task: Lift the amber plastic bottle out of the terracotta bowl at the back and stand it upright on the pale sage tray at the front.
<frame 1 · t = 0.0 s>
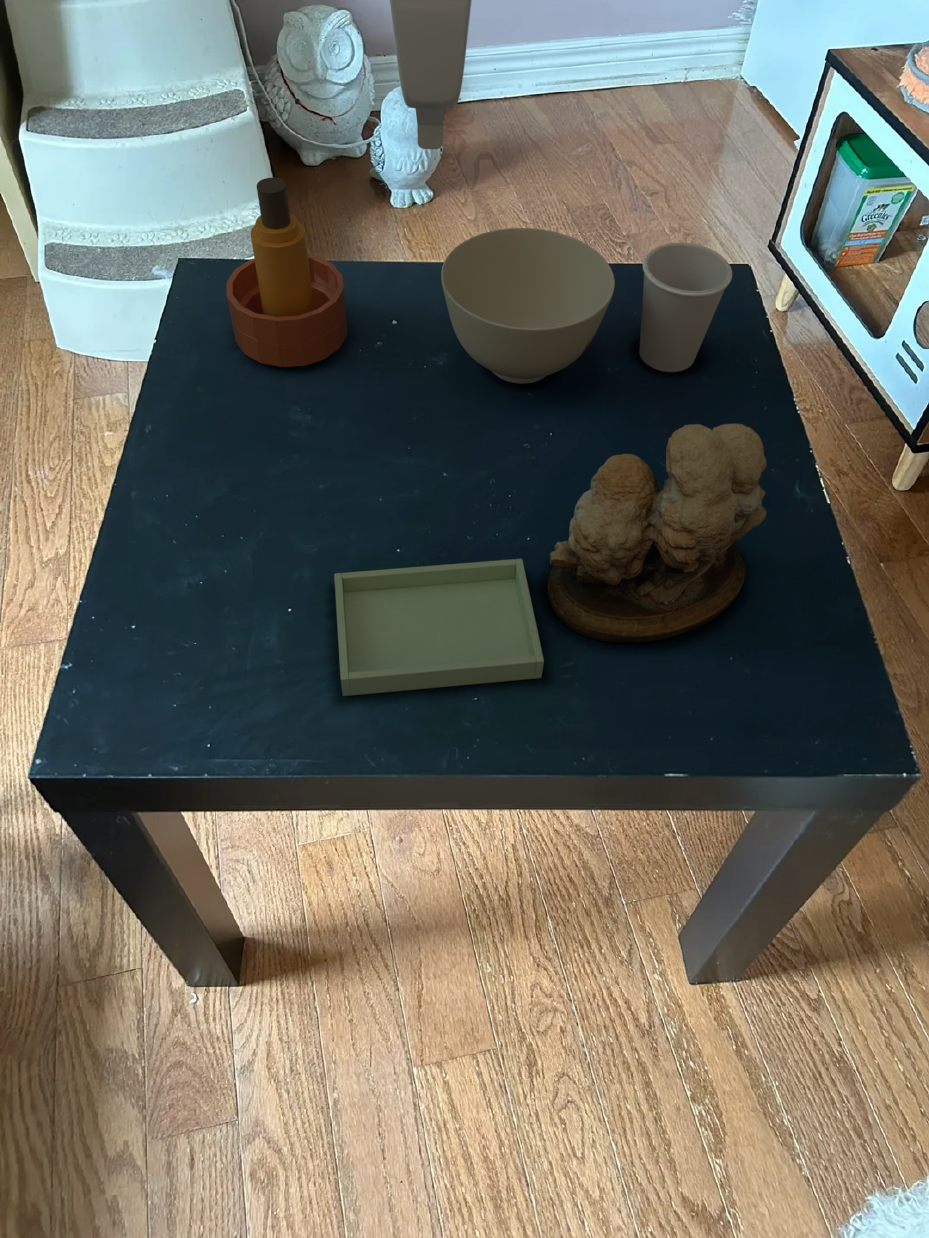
hand: (428, 113, 73), 27 cm above the table, tool pointing down, fingers open, 8 cm apart
tray: (435, 633, 76), on the table
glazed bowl: (292, 336, 98), on the table
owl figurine: (648, 583, 80), on the table
bottle: (291, 331, 98), point 1 cm above the table, touching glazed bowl
dixie cup: (666, 355, 98), on the table
bowl: (519, 365, 97), on the table
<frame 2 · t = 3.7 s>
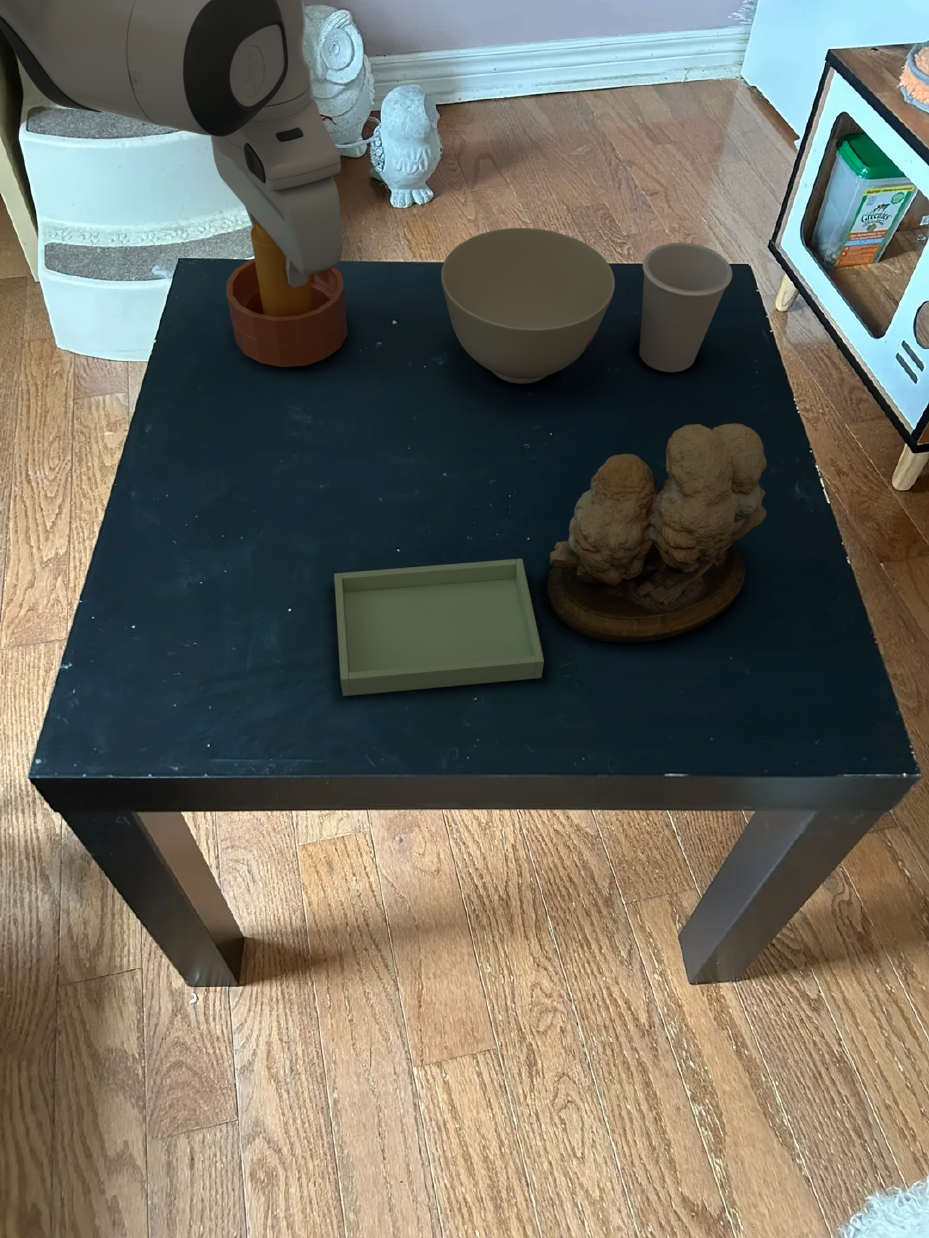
hand: (282, 265, 92), 8 cm above the table, tool pointing down, fingers closed on bottle, 5 cm apart
bottle: (291, 331, 98), point 1 cm above the table, touching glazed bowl, gripper
everything else where it was.
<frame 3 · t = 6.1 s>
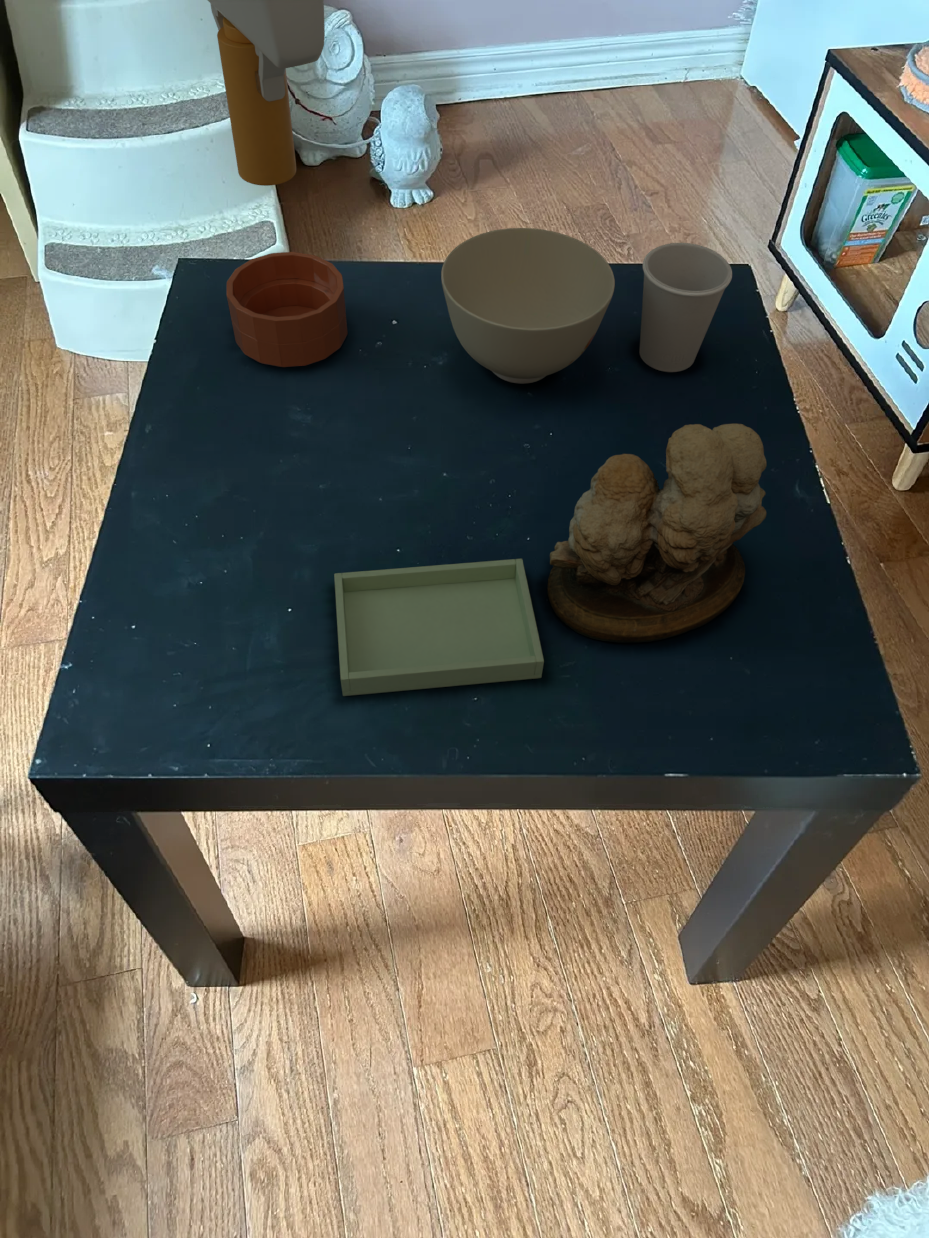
hand: (255, 80, 78), 25 cm above the table, tool pointing down, fingers closed on bottle, 5 cm apart
bottle: (267, 171, 84), point 18 cm above the table, touching gripper
everything else where it was.
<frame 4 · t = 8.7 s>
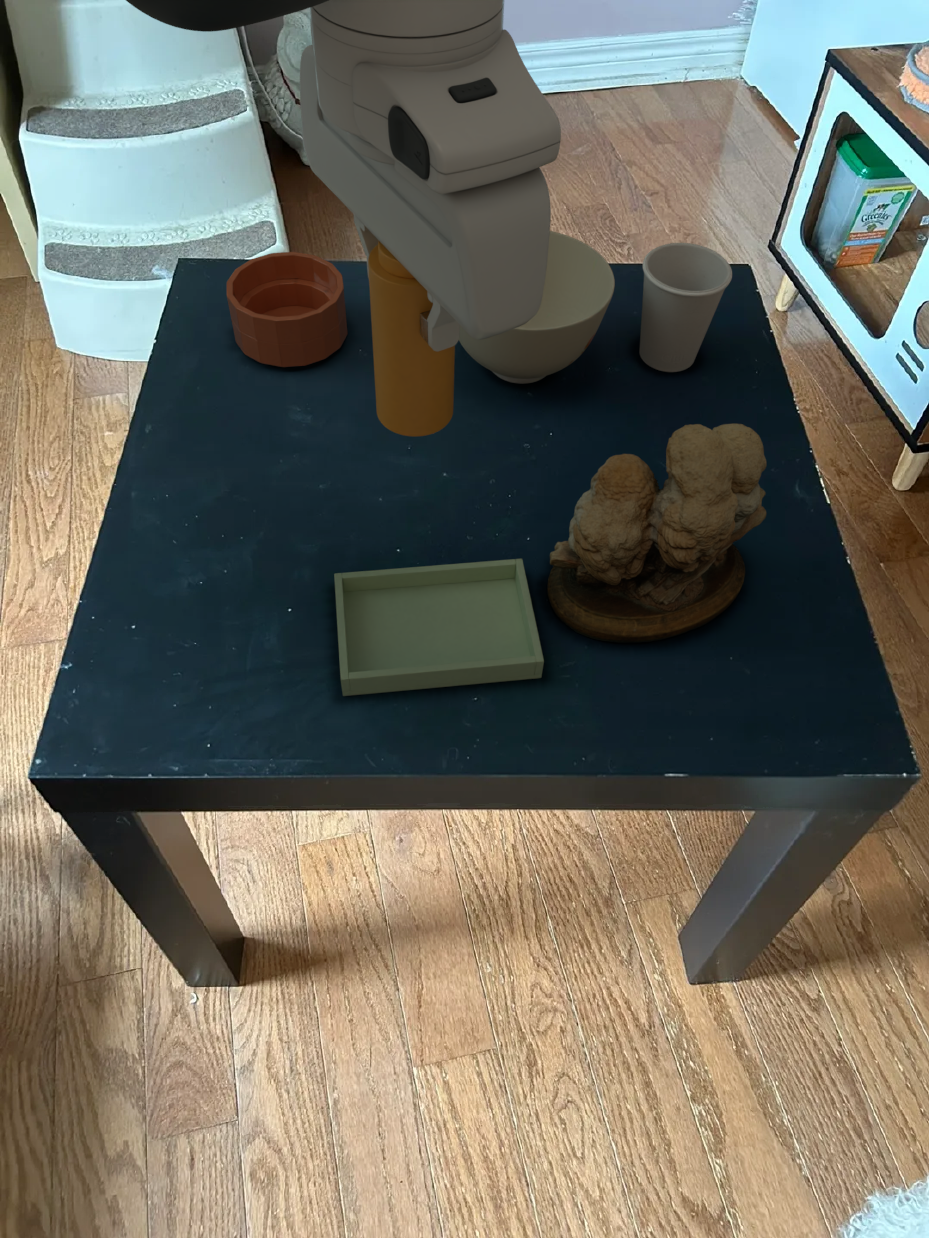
hand: (412, 313, 57), 27 cm above the table, tool pointing down, fingers closed on bottle, 5 cm apart
bottle: (415, 411, 63), point 20 cm above the table, touching gripper
everything else where it was.
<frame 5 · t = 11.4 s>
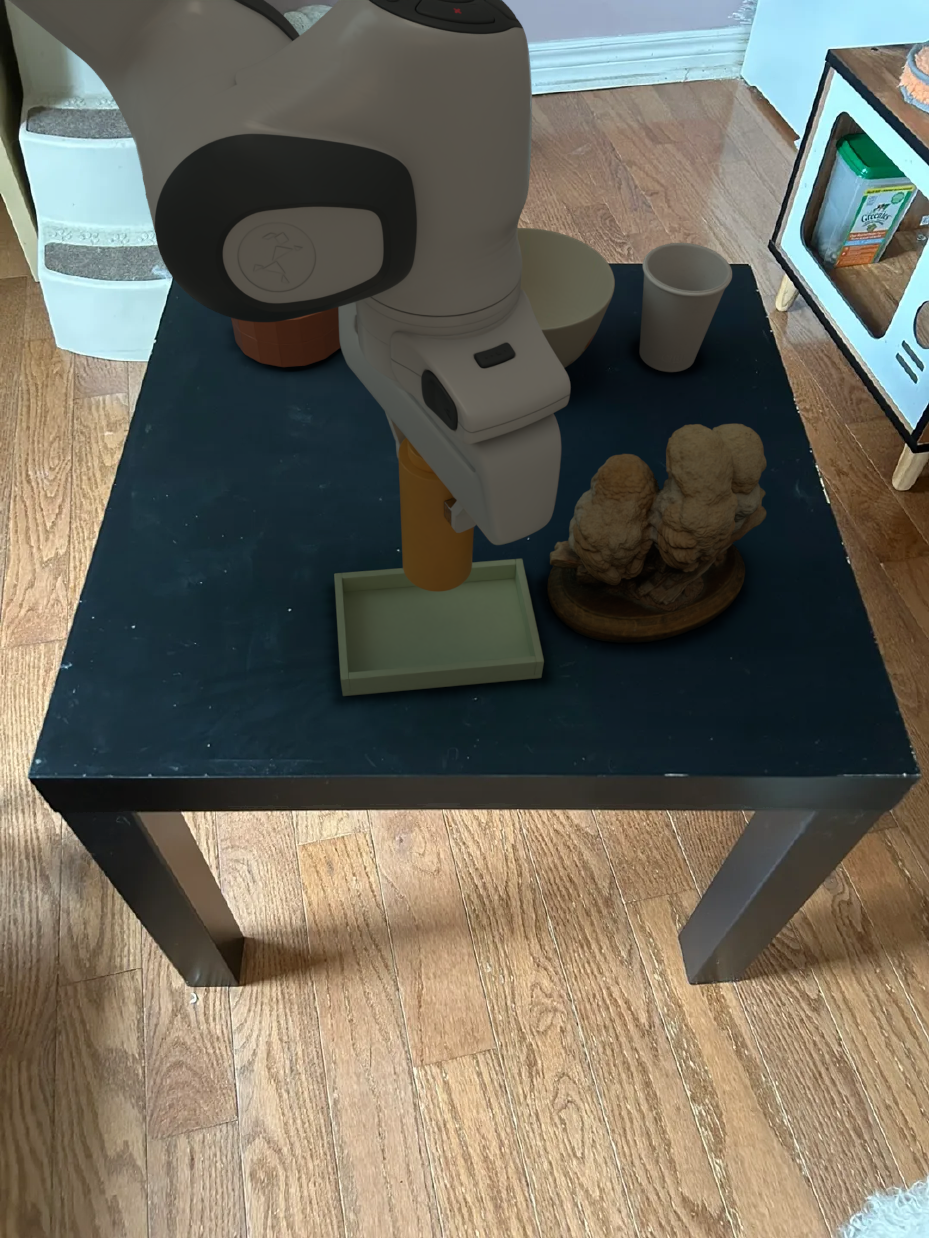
hand: (437, 492, 64), 16 cm above the table, tool pointing down, fingers closed on bottle, 5 cm apart
bottle: (437, 565, 70), point 8 cm above the table, touching gripper
everything else where it was.
when the fingers open (8 cm above the table, at t = 13.7 s): bottle stays where it is, resting on tray.
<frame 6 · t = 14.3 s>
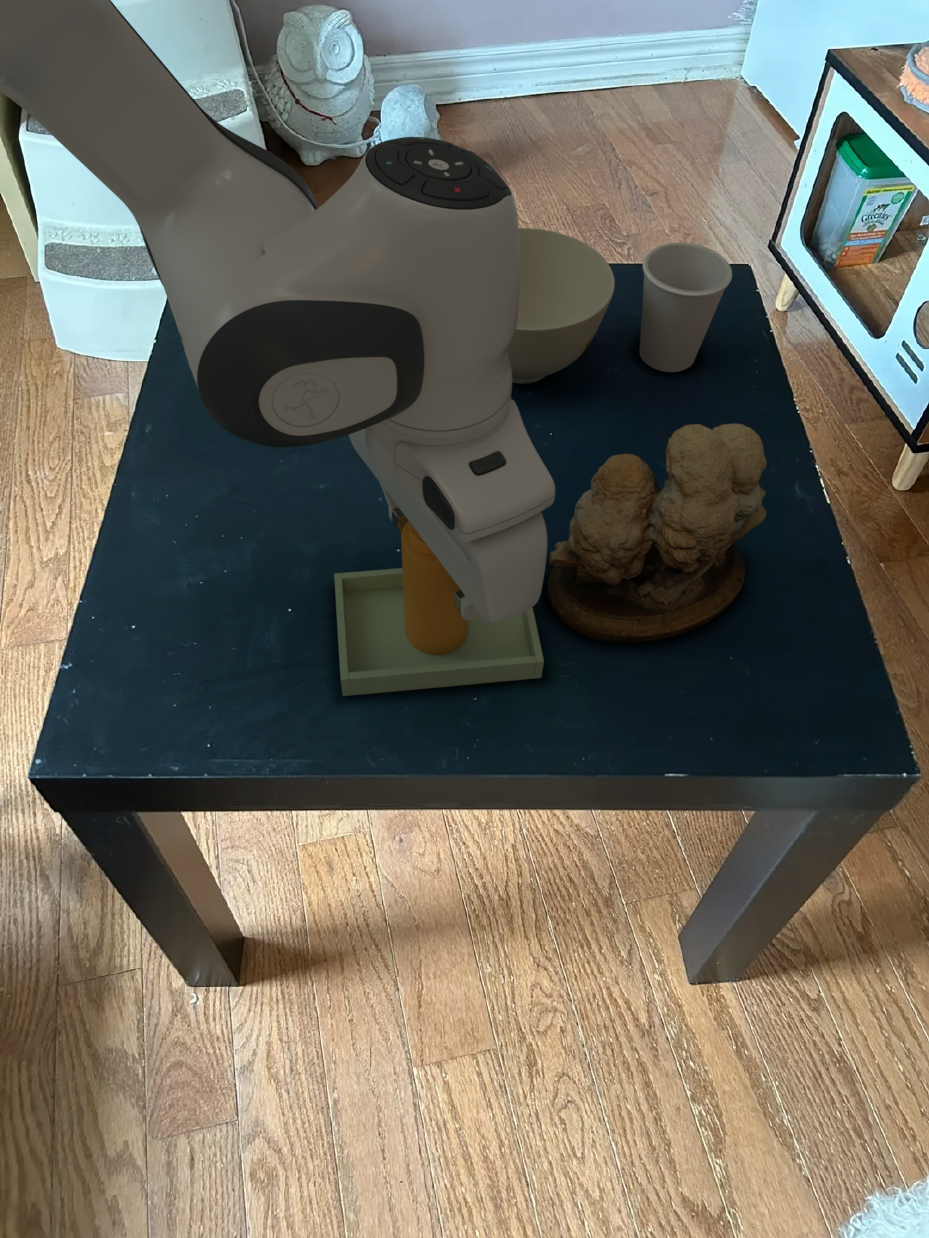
hand: (435, 565, 70), 8 cm above the table, tool pointing down, fingers open, 8 cm apart
bottle: (436, 629, 76), resting on tray
everything else where it was.
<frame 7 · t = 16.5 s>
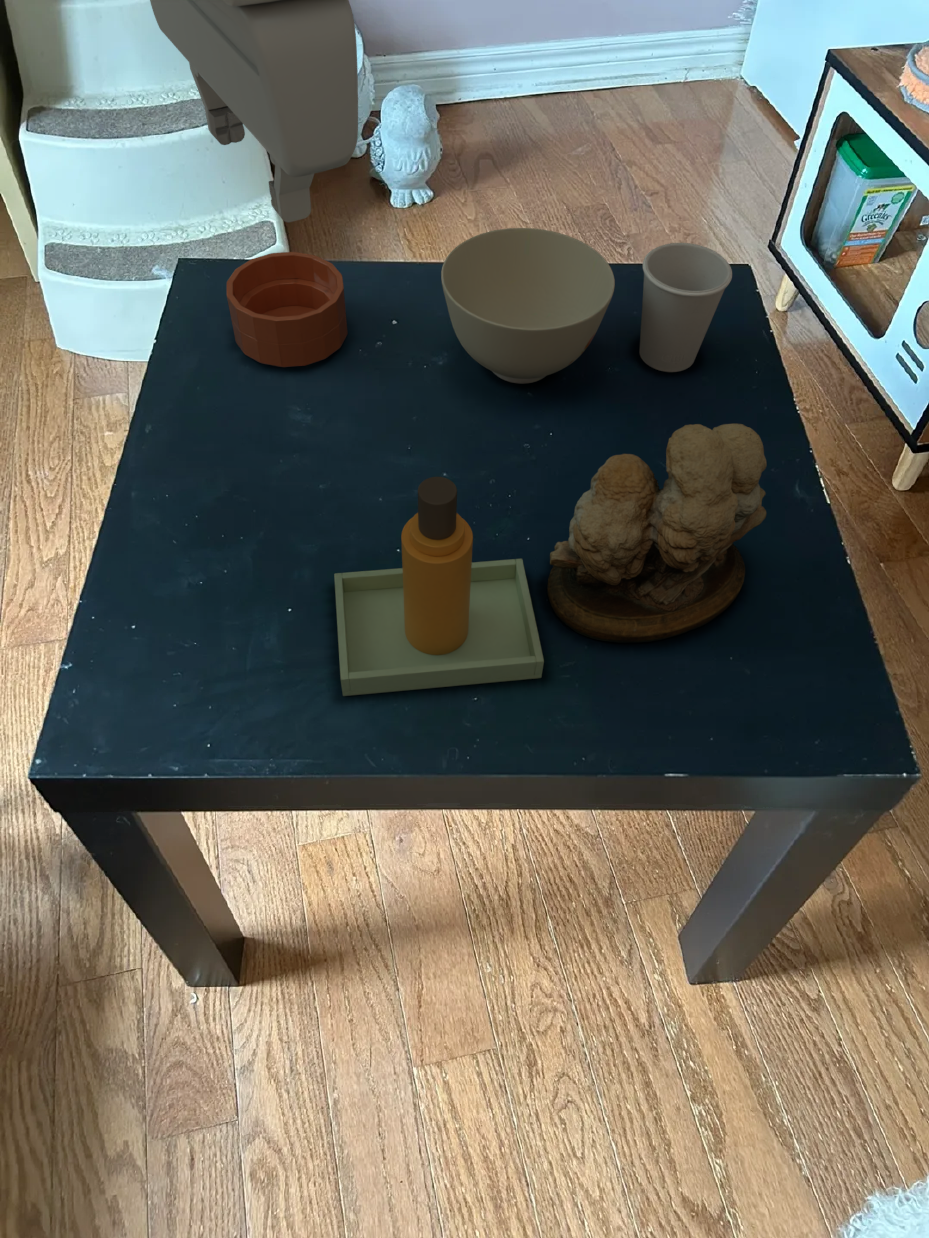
hand: (258, 175, 56), 32 cm above the table, tool pointing down, fingers open, 8 cm apart
nothing on the table moved.
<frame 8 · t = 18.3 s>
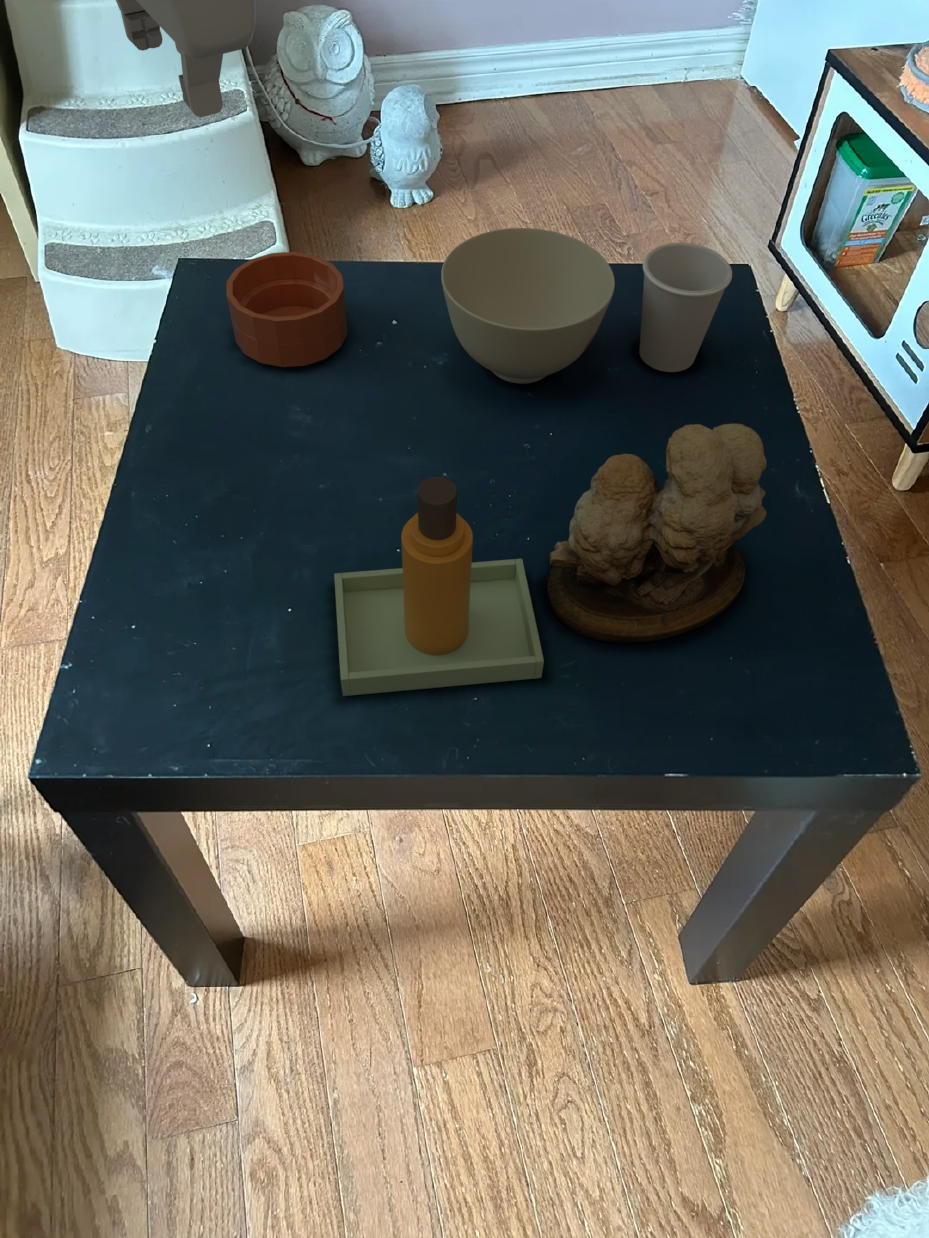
hand: (174, 76, 57), 35 cm above the table, tool pointing down, fingers open, 8 cm apart
nothing on the table moved.
at the end: bottle inside the target area in the tray (0.1 cm from its centre), point 0.5 cm above the tray's base; bottle tilted 0°; bottle touching tray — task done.
